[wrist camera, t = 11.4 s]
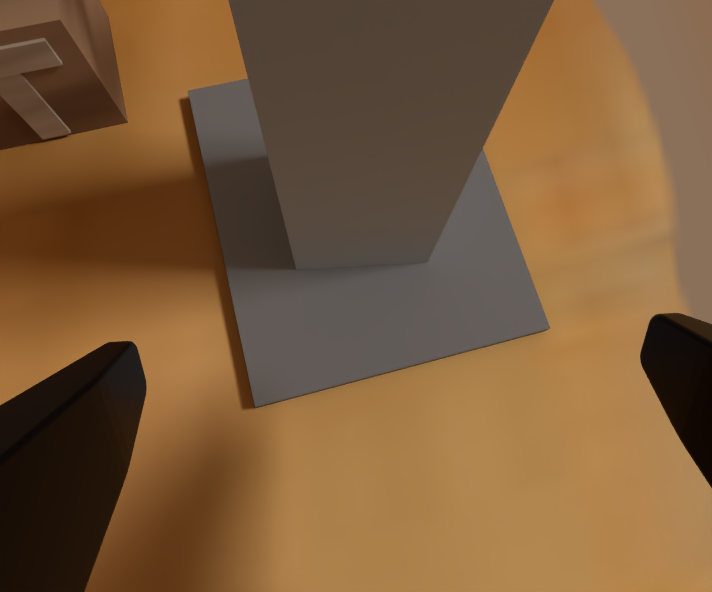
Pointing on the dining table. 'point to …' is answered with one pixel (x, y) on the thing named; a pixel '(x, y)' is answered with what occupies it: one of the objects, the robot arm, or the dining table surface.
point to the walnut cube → (56, 70)
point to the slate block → (377, 114)
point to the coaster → (352, 274)
